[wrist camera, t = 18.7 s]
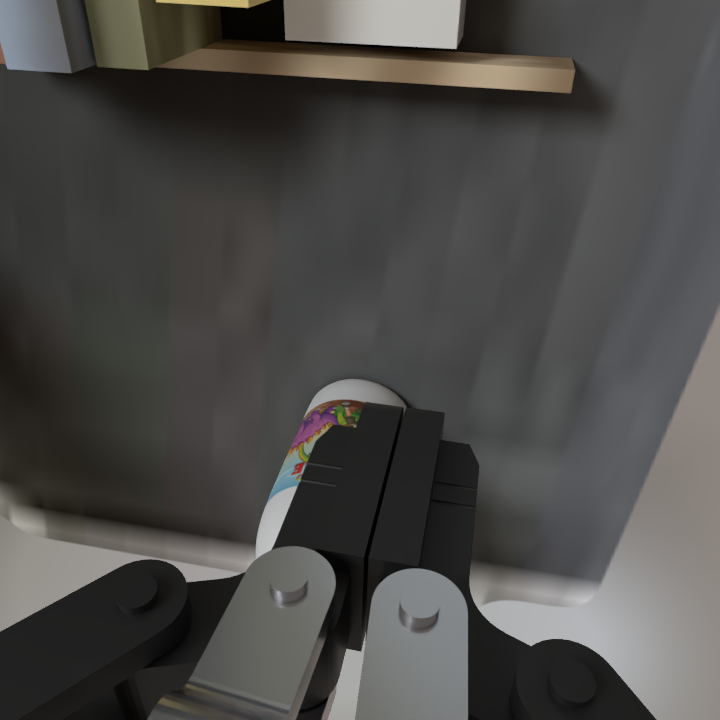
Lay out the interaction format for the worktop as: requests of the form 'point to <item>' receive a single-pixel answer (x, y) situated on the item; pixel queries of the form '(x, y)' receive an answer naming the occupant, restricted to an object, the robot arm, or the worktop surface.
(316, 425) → the milk bottle
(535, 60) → the row of books
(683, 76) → the worktop surface
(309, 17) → the off-white matte block
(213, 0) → the butter yellow brick
